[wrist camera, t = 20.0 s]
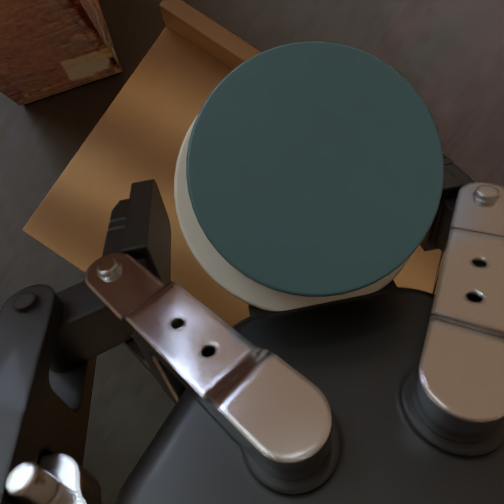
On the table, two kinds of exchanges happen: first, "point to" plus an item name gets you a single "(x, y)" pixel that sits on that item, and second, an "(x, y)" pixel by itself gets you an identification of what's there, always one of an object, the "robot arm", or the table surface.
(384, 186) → the bottle with teal cap
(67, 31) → the book
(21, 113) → the table surface
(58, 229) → the frame
